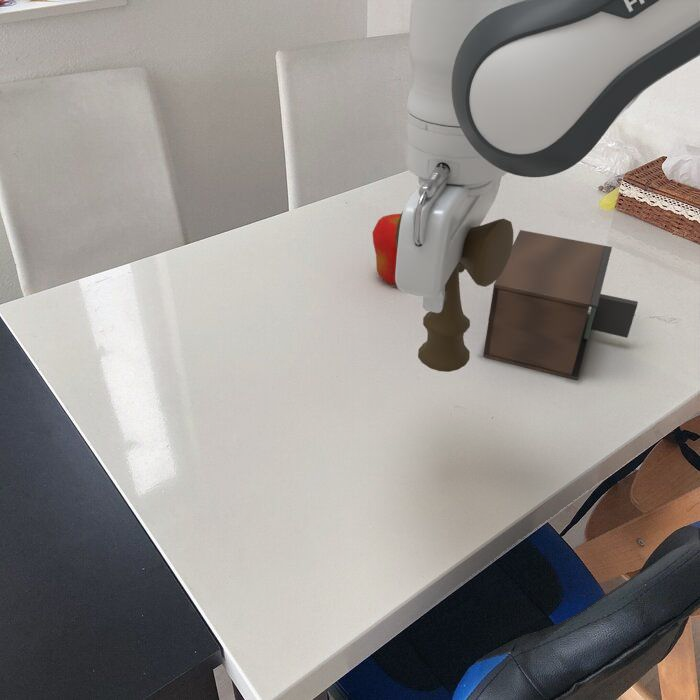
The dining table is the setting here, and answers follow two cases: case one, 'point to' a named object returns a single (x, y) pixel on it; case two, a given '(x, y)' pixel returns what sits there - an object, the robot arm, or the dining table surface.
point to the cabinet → (545, 303)
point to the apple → (386, 246)
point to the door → (611, 316)
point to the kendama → (450, 324)
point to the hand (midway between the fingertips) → (446, 287)
